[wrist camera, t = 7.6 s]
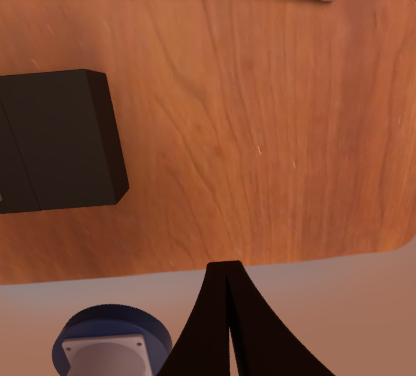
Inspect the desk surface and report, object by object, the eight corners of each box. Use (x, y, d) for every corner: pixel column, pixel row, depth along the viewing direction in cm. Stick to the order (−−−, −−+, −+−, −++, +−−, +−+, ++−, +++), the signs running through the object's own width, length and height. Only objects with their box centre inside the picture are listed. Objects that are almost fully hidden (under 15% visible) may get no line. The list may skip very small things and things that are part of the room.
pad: (129, 188, 19) (116, 205, 16) (65, 193, 19) (40, 210, 16) (105, 73, 16) (84, 68, 13) (29, 79, 16) (-8, 76, 13)
